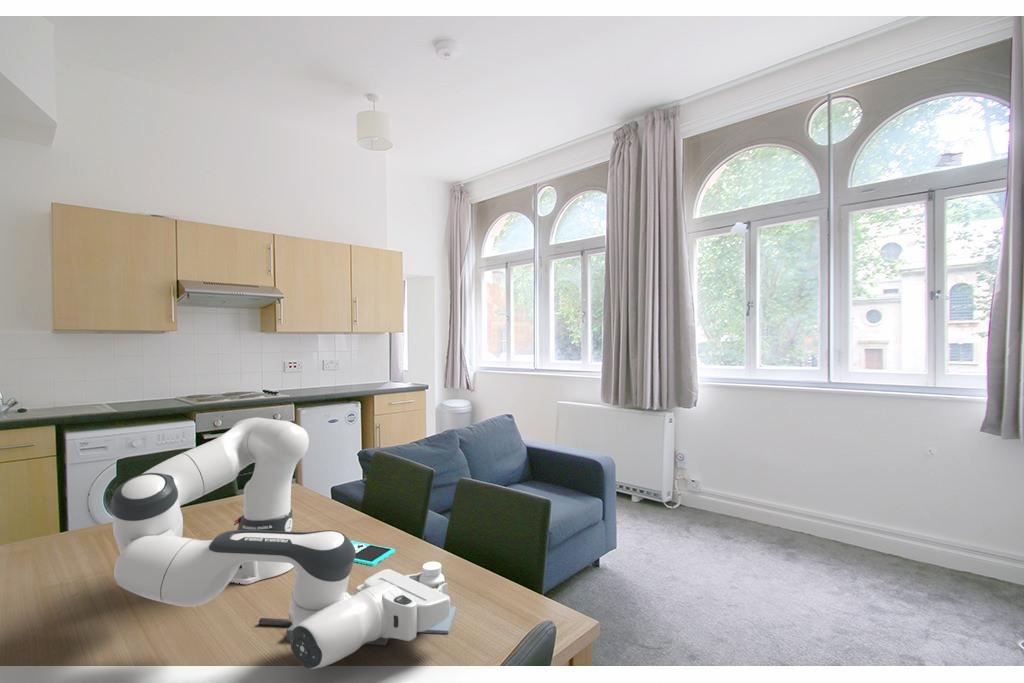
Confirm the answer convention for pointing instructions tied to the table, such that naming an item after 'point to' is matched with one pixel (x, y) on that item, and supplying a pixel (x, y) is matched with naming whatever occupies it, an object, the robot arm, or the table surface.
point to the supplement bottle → (431, 574)
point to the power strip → (287, 623)
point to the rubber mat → (443, 623)
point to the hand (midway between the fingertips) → (434, 580)
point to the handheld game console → (370, 553)
